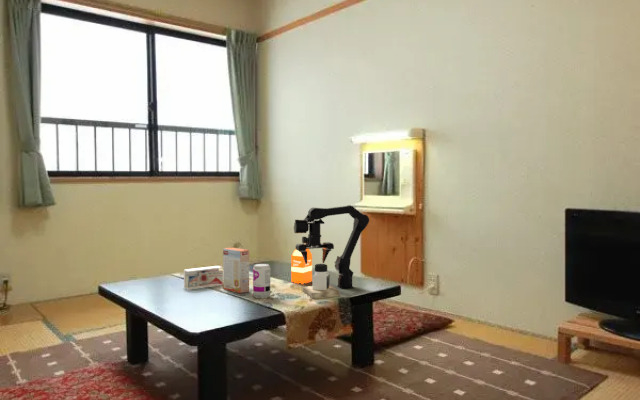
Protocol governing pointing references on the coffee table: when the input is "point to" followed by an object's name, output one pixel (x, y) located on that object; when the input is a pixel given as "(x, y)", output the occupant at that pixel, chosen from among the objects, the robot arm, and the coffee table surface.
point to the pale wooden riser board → (320, 292)
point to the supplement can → (261, 280)
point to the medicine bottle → (321, 278)
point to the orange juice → (301, 267)
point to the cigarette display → (202, 277)
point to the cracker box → (236, 270)
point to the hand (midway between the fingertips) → (314, 263)
